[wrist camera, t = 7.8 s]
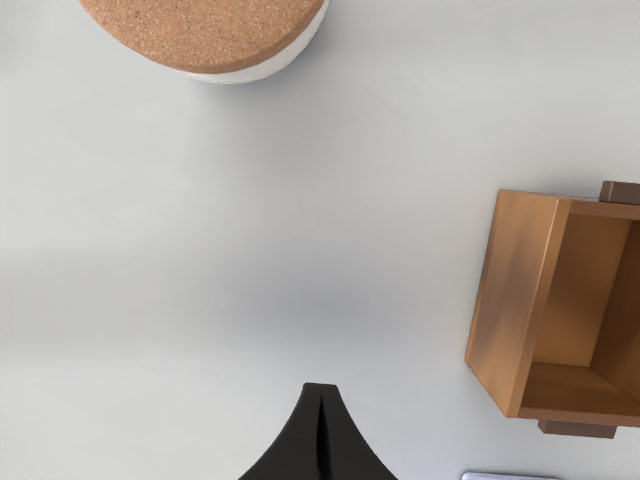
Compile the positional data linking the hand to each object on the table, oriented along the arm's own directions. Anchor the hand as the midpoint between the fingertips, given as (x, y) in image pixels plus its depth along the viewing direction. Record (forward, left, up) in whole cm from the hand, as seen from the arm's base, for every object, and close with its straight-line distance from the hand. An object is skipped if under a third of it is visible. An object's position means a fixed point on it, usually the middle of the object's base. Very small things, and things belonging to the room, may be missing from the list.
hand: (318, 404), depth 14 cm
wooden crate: (+3, -15, -9) cm, 18 cm away
